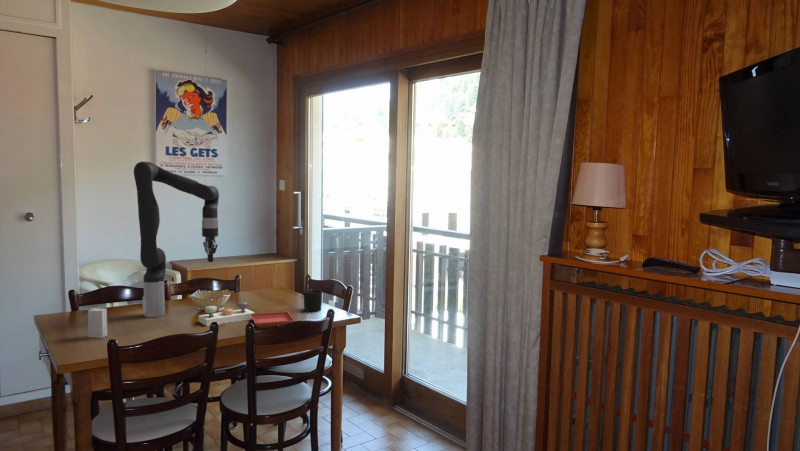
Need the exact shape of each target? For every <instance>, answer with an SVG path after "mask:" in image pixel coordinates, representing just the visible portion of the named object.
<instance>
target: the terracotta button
mask: <svg viewBox="0 0 800 451" xmlns="http://www.w3.org/2000/svg"><path fill="white" fill-rule="evenodd" d="M233 310H234V309H233V308H231V307H225V308H222V309H221V312H222V314H223V315H230V314H233Z"/></svg>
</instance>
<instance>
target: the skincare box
mask: <svg viewBox="0 0 800 451" xmlns="http://www.w3.org/2000/svg"><path fill="white" fill-rule="evenodd" d="M87 320H88V322H87V323H88V329H87V330H88V338H89V337H97V338H96V339H104V338H105V336H106V337H107V336H108V313H107V308H91V309H89V310H87ZM103 337H104V338H103Z"/></svg>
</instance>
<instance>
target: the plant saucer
mask: <svg viewBox="0 0 800 451" xmlns="http://www.w3.org/2000/svg"><path fill="white" fill-rule="evenodd" d="M251 316H252V318H253V319H252V320H253V322H254V324H255V326H256V327H257V328H258V329H262V328H275V326H278V325H282V324H286V323H290V322H292V323H293V322H294V321H295V319H294V318H293V317H292V315H291V314H290V313H289V311H278V312H266V313H265V312H262V313H255V314H251Z"/></svg>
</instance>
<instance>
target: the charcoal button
mask: <svg viewBox="0 0 800 451" xmlns="http://www.w3.org/2000/svg"><path fill="white" fill-rule="evenodd" d="M248 307H249V301H238V302H237V309H241V313H243V312H245V309H248Z"/></svg>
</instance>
